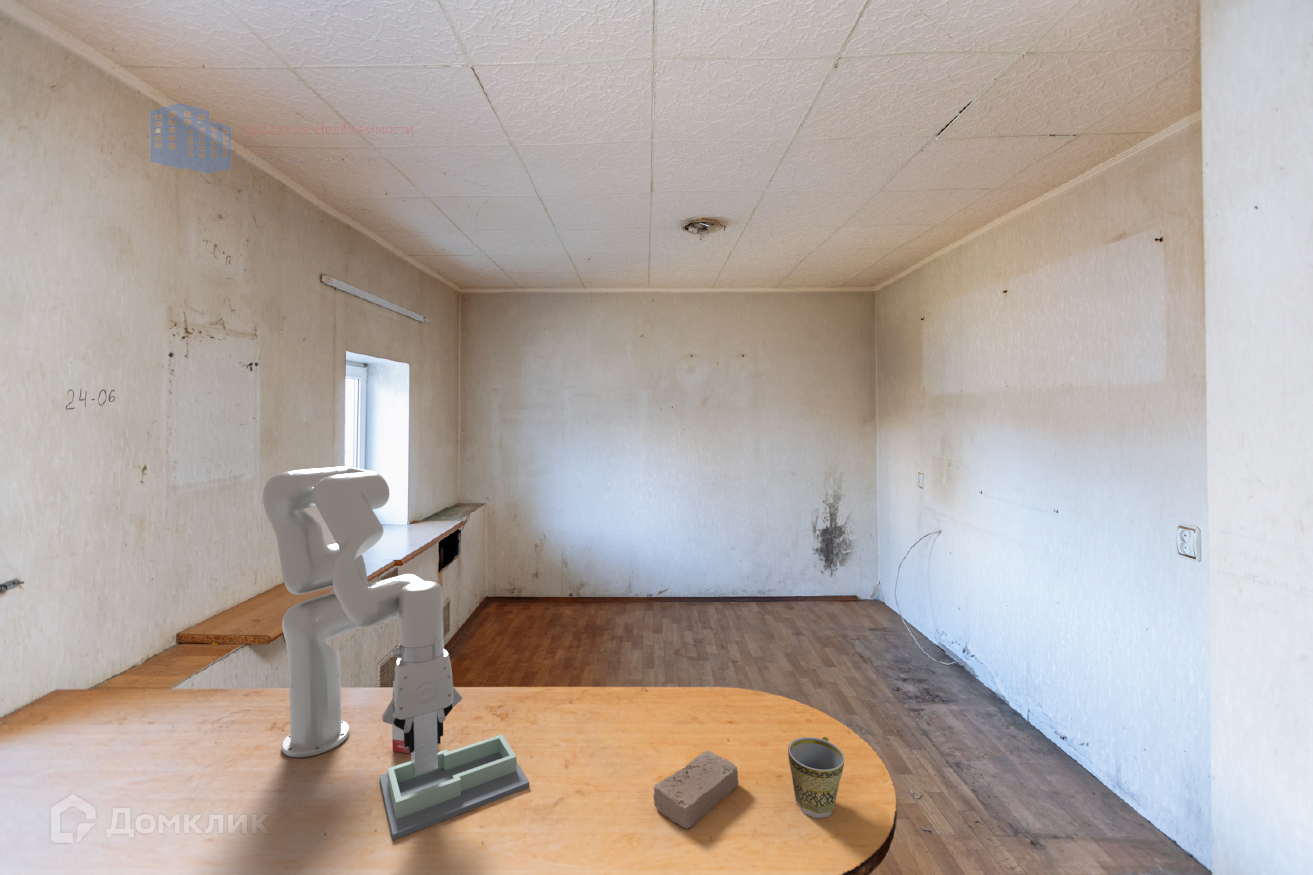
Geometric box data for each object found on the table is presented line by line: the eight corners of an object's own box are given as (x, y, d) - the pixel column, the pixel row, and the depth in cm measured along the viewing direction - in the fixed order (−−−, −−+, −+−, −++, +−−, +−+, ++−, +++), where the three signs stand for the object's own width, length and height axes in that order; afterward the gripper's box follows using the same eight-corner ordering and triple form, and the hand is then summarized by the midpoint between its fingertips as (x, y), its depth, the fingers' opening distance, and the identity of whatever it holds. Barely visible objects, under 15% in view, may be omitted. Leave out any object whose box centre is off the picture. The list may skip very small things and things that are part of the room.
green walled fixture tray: (379, 780, 106) (379, 760, 106) (500, 740, 120) (500, 722, 119) (392, 840, 91) (392, 817, 91) (529, 786, 105) (529, 766, 104)
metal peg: (411, 764, 103) (409, 702, 102) (433, 756, 105) (432, 696, 104) (415, 775, 99) (413, 711, 99) (437, 767, 101) (436, 705, 101)
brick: (706, 767, 111) (706, 745, 111) (740, 786, 106) (740, 763, 105) (651, 810, 99) (651, 785, 99) (686, 834, 93) (686, 808, 93)
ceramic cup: (835, 833, 93) (836, 777, 93) (779, 811, 99) (780, 757, 98) (852, 790, 104) (853, 739, 104) (801, 771, 110) (802, 723, 109)
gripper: (374, 668, 94) (376, 771, 94) (472, 645, 103) (474, 739, 103) (369, 653, 100) (372, 749, 100) (463, 632, 109) (464, 721, 110)
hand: (424, 743), depth 102 cm, fingers closed on metal peg, 4 cm apart
